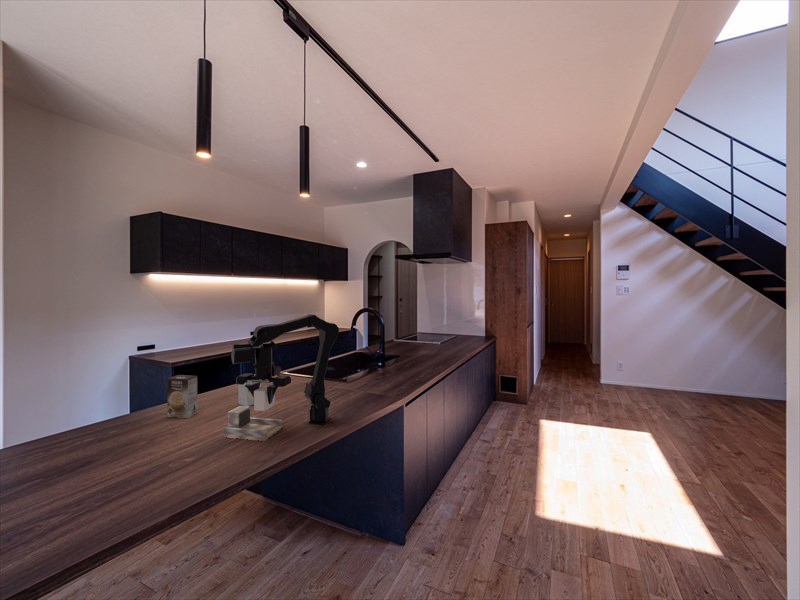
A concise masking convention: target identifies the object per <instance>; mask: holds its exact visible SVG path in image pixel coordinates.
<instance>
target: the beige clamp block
mask: <svg viewBox="0 0 800 600" xmlns="http://www.w3.org/2000/svg"><path fill="white" fill-rule="evenodd" d="M281 428H282V429H283V419H279V418H278V419H277V418H265V417H252V416H251V405H250V406H243V405H239V406H237V407H235V408H233V409H231V410H229V411H228V412H227V426H225V427H223V438H226V437H227V438H228V439H236V438H238V439H239V440H247V439H248V440H250V441H258V440H259V442H261V441H262V442H266V441H267V440H269V439H270V438H271V437H272V436H274V435H275V434H277V433H278V432H279V431H281V430H282V429H281ZM277 431H278V432H277ZM273 434H274V435H273ZM269 437H270V438H269ZM227 438H226V439H227ZM268 438H269V439H268ZM238 439H237V440H238Z"/></svg>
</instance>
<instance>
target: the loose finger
mask: <svg viewBox="0 0 800 600" xmlns="http://www.w3.org/2000/svg"><path fill="white" fill-rule="evenodd" d="M268 386H269V385H266V384H265V385H264V386H261V388H259V389H257V390H255V391H254V405H253V411H257V412H265V411H267V410H269V409H271V408H272V407H274V406H276V394H275V395H274V397H273V400H272V403H271V404H269V402H268V394H267V387H268Z"/></svg>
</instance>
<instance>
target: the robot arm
mask: <svg viewBox="0 0 800 600" xmlns="http://www.w3.org/2000/svg"><path fill="white" fill-rule="evenodd" d="M310 326H312V327H313V328H314V329H316V330H317V331H318V340H319V348H318V353H317V357H316V360H315V361H316V362H315V365H314V370H313V375H312V379H311V380H310V382H305V389H304V390H303V393H304V397H305V399H306V400H307V401H309V403H310V409H309V421H308V423H309V424H315V425H325V424H326V423H327V422H329V420H331V417H330V416H329V408H330V406H331V403H332V402H331V401H330V400H329V399H328V398H326V386H325V385H326V384H325V378H326V373H327V370H328V369H327V368H328V364H329V359H330V355H331V351H332V346H333V345H334V344H335V342H336V341H337V338H338V336H339V332H340V327H338V325H337V324H336V323H334V322H328V321H326V320H324V319H322V318H320V317H318V316H317V315H316V314H307V315H305V316H300V317H298V318H294V319H291V320H287V321H283V322H280V323H274V324H271V323H270V324H262V325H259V326H258V325H257V326H256V327H255V329H254V330H253V335H252V336H251V337H250V339H249V340H248V342H247V343H232V349H231V353H230V354H231V362H232V365H235V364H236V365H237V364H245V363H251V362H252V361H253V360H254V364H253V365H252V368H254V373H248V372H244V373H242V374H240V375H237V376H236V379H235V384H236V385H238V384H241V385H243V384H245V383H246V385H245V387H247V388H248V390H249V391H250V393H251V394H252V396H253V398H254V391H255V390H257V389H259V386H260V383H261V384H262V383H265V384H266V383H269V385H267V386H268V387H267V394H268V402H269V404H271V403H272V400H273V397H274V395H275V396H276V391H277V390H278V388H284V387H286V386H288V385H289V384H291V383H292V378H291V376H290V375H286V374H285V375H284V374H281V371H282V367H280V366H276V365H275V362H274V361H273V349H274V348H275V349H277V348H279V346H278V345H277V344H276V343H275V342H274V341H273V340H276V339H277V338H278V337H281V336H282V335H284V334H288V333H291V332H293V331H297V330H300V329H304V328H307V327H310ZM254 374H255V375H254ZM259 379H261V380H259Z"/></svg>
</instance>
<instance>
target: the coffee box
mask: <svg viewBox="0 0 800 600" xmlns="http://www.w3.org/2000/svg"><path fill="white" fill-rule="evenodd" d="M196 413H197V414H198V375H189V374H188V375H186V374H177V375H174V376H170V377H168V378H167V417H168V418H174V417H177V418H178V419H189V418H191V417H193V416H194V414H195V415H197V414H196Z"/></svg>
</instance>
